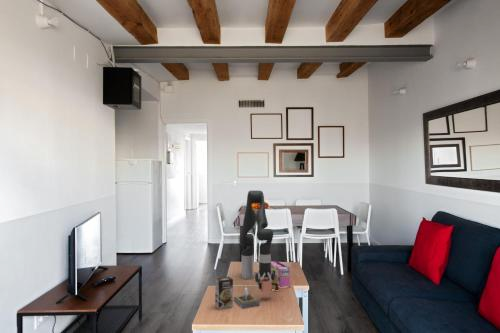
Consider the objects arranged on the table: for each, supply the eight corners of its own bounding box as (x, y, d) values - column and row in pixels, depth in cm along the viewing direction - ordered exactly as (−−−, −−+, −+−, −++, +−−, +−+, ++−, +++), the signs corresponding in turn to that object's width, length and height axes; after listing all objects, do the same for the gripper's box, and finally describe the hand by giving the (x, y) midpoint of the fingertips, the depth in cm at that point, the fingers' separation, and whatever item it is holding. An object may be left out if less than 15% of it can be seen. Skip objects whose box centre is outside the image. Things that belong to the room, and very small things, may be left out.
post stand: (233, 300, 187) (233, 285, 187) (249, 297, 191) (249, 283, 192) (242, 308, 174) (242, 292, 175) (259, 305, 179) (259, 290, 179)
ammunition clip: (278, 290, 204) (278, 272, 205) (278, 291, 202) (278, 273, 203) (263, 289, 207) (263, 271, 208) (262, 289, 205) (262, 272, 206)
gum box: (265, 278, 229) (265, 260, 230) (274, 277, 232) (274, 259, 233) (280, 289, 207) (280, 269, 207) (290, 287, 210) (290, 267, 210)
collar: (258, 288, 190) (258, 279, 190) (267, 287, 193) (267, 277, 193) (262, 292, 185) (262, 282, 185) (271, 290, 187) (271, 280, 187)
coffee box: (218, 309, 173) (218, 281, 174) (214, 305, 178) (214, 278, 179) (233, 306, 177) (233, 278, 178) (228, 303, 183) (228, 275, 184)
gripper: (272, 258, 196) (272, 284, 195) (252, 260, 190) (252, 287, 189) (277, 261, 189) (277, 288, 188) (257, 263, 183) (257, 291, 182)
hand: (265, 287), depth 189 cm, fingers closed on collar, 6 cm apart
